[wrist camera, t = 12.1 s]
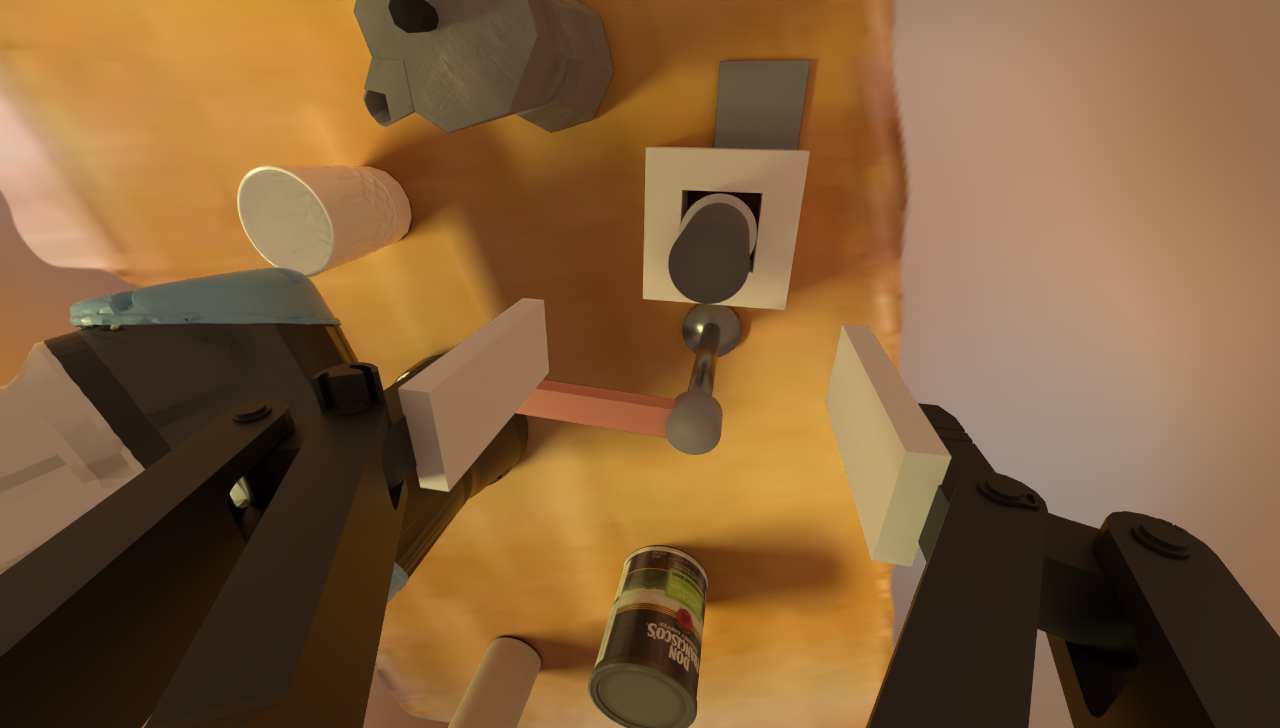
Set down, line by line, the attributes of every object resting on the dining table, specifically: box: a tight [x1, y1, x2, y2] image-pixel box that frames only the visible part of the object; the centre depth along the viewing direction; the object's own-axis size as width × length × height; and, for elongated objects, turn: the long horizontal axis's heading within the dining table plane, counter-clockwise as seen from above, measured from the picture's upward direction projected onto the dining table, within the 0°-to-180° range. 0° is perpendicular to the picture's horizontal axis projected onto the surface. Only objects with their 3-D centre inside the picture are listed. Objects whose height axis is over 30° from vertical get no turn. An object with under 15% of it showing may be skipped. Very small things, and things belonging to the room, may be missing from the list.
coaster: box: [714, 60, 810, 150], centre depth 34 cm, size 6×6×1 cm
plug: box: [668, 193, 757, 304], centre depth 32 cm, size 5×5×14 cm
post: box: [683, 303, 741, 396], centre depth 36 cm, size 5×5×14 cm
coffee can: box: [588, 546, 708, 728], centre depth 50 cm, size 10×10×14 cm
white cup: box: [237, 165, 412, 277], centre depth 39 cm, size 8×8×10 cm
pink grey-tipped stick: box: [515, 380, 723, 455], centre depth 29 cm, size 17×3×2 cm, turn 87°
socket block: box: [643, 146, 810, 310], centre depth 37 cm, size 11×11×4 cm
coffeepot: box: [354, 0, 614, 133], centre depth 27 cm, size 15×9×18 cm, turn 127°
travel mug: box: [448, 638, 541, 728], centre depth 61 cm, size 8×8×18 cm
